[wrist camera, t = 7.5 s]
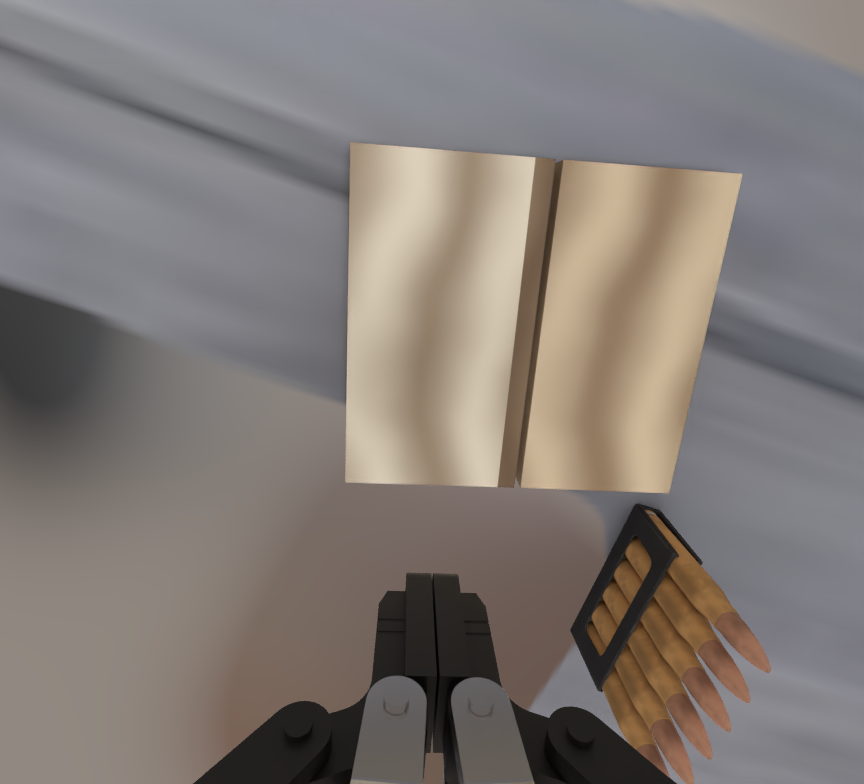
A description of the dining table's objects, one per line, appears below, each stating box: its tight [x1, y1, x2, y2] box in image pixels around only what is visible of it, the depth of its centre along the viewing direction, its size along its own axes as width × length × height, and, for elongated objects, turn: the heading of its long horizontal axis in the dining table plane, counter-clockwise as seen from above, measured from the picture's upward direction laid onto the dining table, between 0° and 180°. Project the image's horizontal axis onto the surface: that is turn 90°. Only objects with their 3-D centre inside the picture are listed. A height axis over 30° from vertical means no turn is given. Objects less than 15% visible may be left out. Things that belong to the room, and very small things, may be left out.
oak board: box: [515, 160, 743, 493], centre depth 28 cm, size 9×18×2 cm, turn 176°
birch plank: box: [345, 142, 556, 488], centre depth 27 cm, size 10×18×2 cm, turn 176°
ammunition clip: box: [571, 504, 771, 784], centre depth 28 cm, size 11×2×12 cm, turn 161°
